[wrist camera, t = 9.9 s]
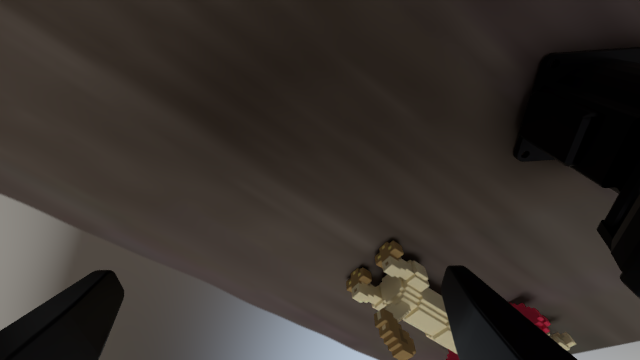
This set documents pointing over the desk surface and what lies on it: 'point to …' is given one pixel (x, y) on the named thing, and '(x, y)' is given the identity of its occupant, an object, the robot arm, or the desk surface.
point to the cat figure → (417, 305)
